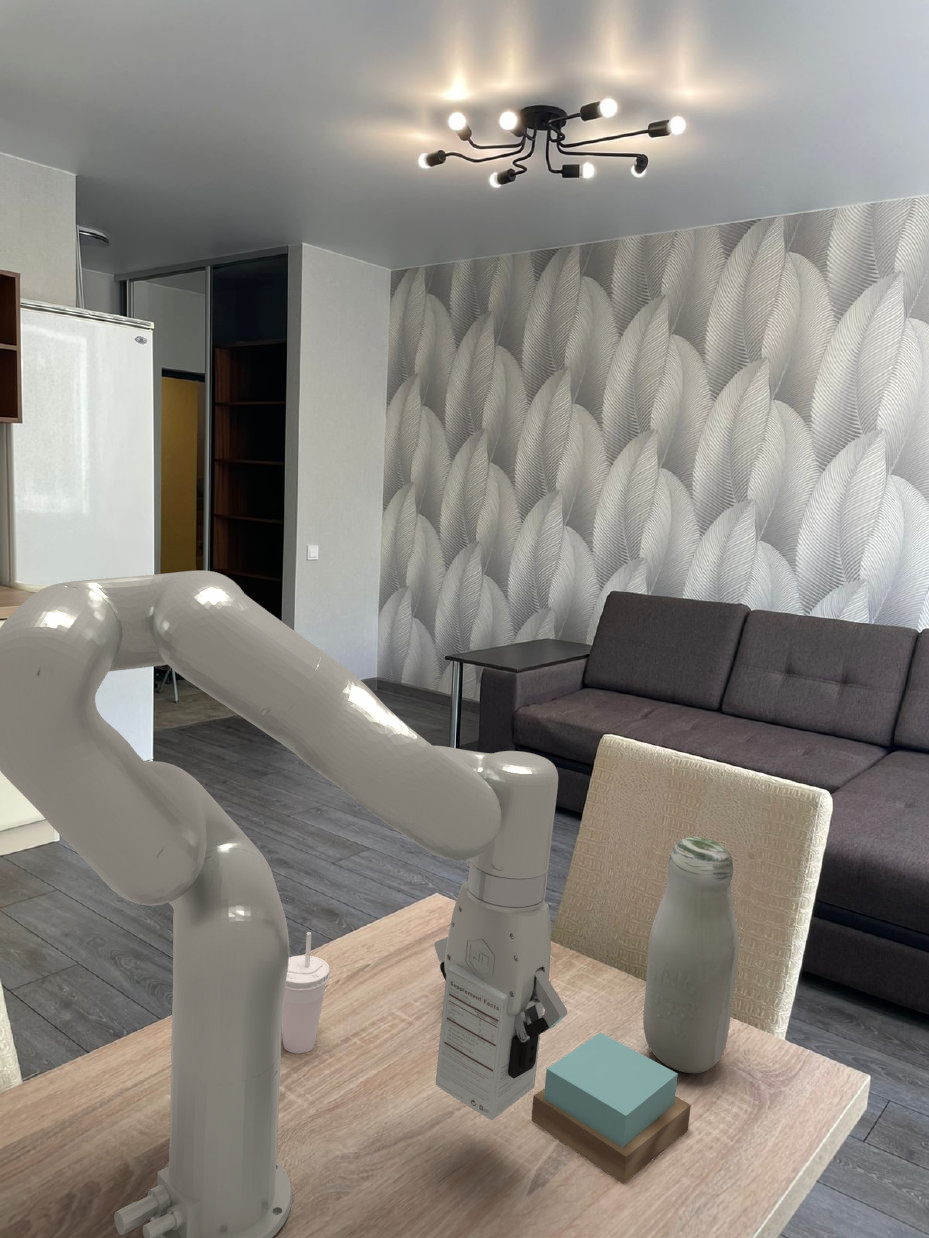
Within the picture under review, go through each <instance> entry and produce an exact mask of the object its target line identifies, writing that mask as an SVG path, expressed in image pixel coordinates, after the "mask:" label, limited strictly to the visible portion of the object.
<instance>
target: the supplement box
mask: <svg viewBox="0 0 929 1238" xmlns="http://www.w3.org/2000/svg"><path fill="white" fill-rule="evenodd" d="M444 982H445V985H444V995H443V1002H442V1003H443V1004H442V1012H441V1013H442V1014H441V1024H440V1033H439V1045H438V1054H437V1056H438V1057H437V1066H436V1077H435V1085H436V1087H437V1088H438V1089H440V1090H442V1091H444V1093H446V1094H448V1095H450V1096H452V1097H453V1098H455V1099H457V1101H460V1102H461V1103H463V1104H464V1105H465V1106H467V1107H468V1108H470V1109H472V1110H474V1111H475V1112H477V1113H478V1114H480V1115H481V1116H483V1117H485V1118H486V1119H488V1120H491V1121H494V1120H495V1119H497V1118H498V1117H499V1116H500V1115H502V1114H503V1112H505V1111H506V1110H507V1109H509V1108H510V1107H511V1106H512V1105H515V1103H516V1102H517V1101H519V1100H520V1099H522V1097H525V1095H527V1094H528V1093H529V1092H531V1091H532V1090H533V1089H534V1088H535V1084H536V1076H537V1075H536V1074H537V1068H538V1058H539V1057H538V1056H539V1051H540V1049H539V1048H540V1041H541V1034H539V1037H538V1045H537V1054H536V1062H535V1064H534V1066H533V1068H532V1069H530V1070H528V1071H527V1072H525V1073H523V1074H522V1075H520V1076H518V1077H516V1078H515V1079H513V1078H512V1077H510V1076H509V1073H508V1069H509V1060H510V1051H511V1042H512V1038H513V1037H514V1036H516V1035H517V1032H516V1029H515V1025H514V1021H515V1016H509V1015H508V1014H507V1006H508V996H507V995H505V994H504V993H502V992H500V991H499V990H497V989H495V988H494V987H492V986H490V985H489V984H487V983H485V982H484V981H482V980H481V979H480V978H478V977H477V976H474V975H472V974H471V973H469V972H467V971H466V970H464V969H463V968H461V967H459V966H457V965H455V964H454V965H452V966H450V967H448V968H447V973H446V981H444ZM539 1006H540V1010H541V1013H542V1015H543V1014H544V1007H543V1005H542V1003H541V1002H540V1003H539ZM524 1014H525V1018H526V1021H527V1024H530V1023H531V1020H530V1017H529V1014H528V1009H526V1010H525V1011H524Z"/></svg>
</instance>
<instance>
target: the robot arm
mask: <svg viewBox="0 0 929 1238" xmlns="http://www.w3.org/2000/svg"><path fill="white" fill-rule="evenodd" d="M166 665H167V666H169V668H171V669H172V670H173V672H175V673H176V674H179V676H180V677H182V678H184V679H185V681H188V682H189V683H191V684H192V685H194V686H195V687H196V688H198V689H200V690H201V691H202V692H204V693H206V694H207V695H209V696H210V697H212V698H213V699H215V700H216V701H217V702H219V703H220V704H222V705H223V706H225V707H227V708H228V709H229V710H231V711H233V712H234V713H236V714H237V715H238V716H240V717H241V718H243V719H245V720H246V721H247V722H249V723H250V724H252V725H253V726H255V727H256V728H257V729H259V730H261V731H262V732H264V733H265V734H266V735H268V736H270V737H271V738H272V739H274V740H275V741H277V743H280V744H281V745H283V747H285V748H287V749H288V750H289V751H290V752H292V753H293V754H295V755H296V756H297V757H299V759H301V760H302V761H303V762H304V763H305V764H306V765H308V766H309V767H310V768H311V769H313V770H314V771H315V772H317V773H318V774H320V775H321V776H322V777H324V778H325V779H327V780H328V781H329V782H331V783H333V784H334V786H336V787H338V788H339V789H340V790H342V791H343V793H346V795H348V796H349V797H350V798H352V799H353V800H354V801H355V802H357V804H359V805H361V806H362V807H363V808H364V809H366V810H367V811H368V812H370V813H371V814H372V815H374V816H376V818H378V819H380V820H381V821H382V822H384V823H385V824H386V825H388V826H390V827H391V828H393V829H394V830H395V831H397V832H399V833H400V834H402V835H403V836H404V837H406V838H407V839H409V840H410V841H412V842H413V843H415V844H417V845H418V846H419V847H421V848H423V849H424V850H426V851H427V852H429V853H430V854H433V855H434V856H437V857H439V858H441V859H445V860H449V861H450V860H451V861H463V860H464V863H465V864H466V866H469V870H468V880H466V881H465V882H463V883H462V884H461V887H460V890H459V892H458V894H457V898H456V900H455V903H454V906H453V907H454V908H453V911H452V915H451V919H450V924H449V928H448V934H447V936H446V937H444V938H442V939H439V940H436V941H435V942H434V945H433V946H434V950H435V952H436V955H437V958H438V962H440V964H439V968H440V972H441V975H442V976H443V979H444V982H446V973H447V968H448V967H450V966H452V965H454V964H455V965H457V966H459V967H461V968H463V969H464V970H466V971H467V972H469V973H471V974H472V975H474V976H477V977H478V978H480V979H481V980H482V981H484V982H485V983H487V984H489V985H490V986H492V987H494V988H495V989H497V990H499V991H500V992H502V993H504V994H505V995H507V996H508V1006H507V1014H508V1015H509V1016H515V1021H514V1025H515V1029H516V1032H517V1035H516V1036H514V1037H513V1038H512V1042H511V1051H510V1060H509V1069H508V1073H509V1076H510V1077H512V1078H513V1079H515V1078H516V1077H518V1076H520V1075H522V1074H523V1073H525V1072H527V1071H528V1070H530V1069H532V1068H533V1066H534V1064H535V1062H536V1054H537V1045H538V1037H539V1034H540V1035H542V1034H543V1033H545V1032H547V1031H548V1030H551V1029H552V1028H554V1027H555V1026H556V1025H557V1024H558V1023H560V1022H561V1021H562V1020H563V1019H565V1017H566V1016H567V1015H568V1010H567V1007H566V1006H565V1004H564V1002H563V1001H562V999H561V998H560V996H559V995H558V993H557V991H556V990H555V988H554V986H553V985H552V983H551V981H550V980H549V978H550V969H551V953H552V952H551V949H552V948H551V946H552V945H551V941H552V940H551V939H552V938H551V936H552V935H551V934H552V933H551V932H552V931H551V917H550V908H549V907H550V906H549V904H548V903H547V902H545V901H546V893H547V885H548V884H547V883H548V874H549V864H550V855H551V847H552V839H553V838H552V837H553V830H554V821H555V813H556V805H557V796H558V789H559V774H558V769H557V768H556V766H555V764H554V763H553V762H552V761H551V760H549V759H548V758H546V757H544V756H541V755H538V754H535V753H531V752H527V751H520V750H519V751H517V750H506V751H504V750H502V751H498V752H494V753H493V752H492V753H491V752H490V753H487V752H481V751H473V750H467V749H460V748H456V747H455V748H454V747H451V746H450V747H449V746H445V745H432V744H431V743H430V742H429V741H427V740H426V739H425V738H424V737H422V736H421V735H420V734H418V733H417V732H416V731H415V730H413V729H412V728H411V727H410V726H409V725H407V724H406V723H405V722H404V721H403V720H401V719H400V718H399V717H398V716H397V715H396V714H395V713H394V712H393V711H391V709H389V707H387V706H386V705H385V704H384V702H382V701H381V699H380V698H379V697H378V696H377V695H376V694H375V693H374V692H373V691H372V689H371V688H369V687H368V686H367V685H366V684H365V683H364V682H363V681H362V680H361V679H360V678H358V676H357V675H355V674H354V673H353V672H352V671H351V670H349V669H348V668H347V667H346V666H344V665H343V664H341V663H340V662H338V661H337V660H335V659H334V658H333V657H331V656H330V655H329V654H327V653H326V652H324V651H323V650H321V649H320V648H318V647H317V645H315V644H313V643H311V642H310V641H309V640H308V639H306V638H305V637H303V636H302V635H301V634H299V633H298V632H296V631H295V630H294V629H292V628H291V627H290V626H289V625H287V624H286V623H284V622H283V621H282V620H280V619H279V618H278V617H276V616H275V615H273V614H272V613H271V612H269V611H268V610H267V609H265V608H264V607H263V606H262V605H260V604H259V603H257V602H256V601H255V600H253V598H251V597H249V596H248V595H247V594H246V593H244V591H243V590H242V589H241V587H240V586H239V584H237V583H236V582H235V581H234V580H232V579H231V578H230V577H228V576H227V575H224V574H222V573H219V572H215V571H211V570H187V571H178V572H170V573H169V572H167V573H158V574H157V573H155V574H146V575H133V576H124V577H123V576H122V577H110V578H98V579H97V578H96V579H86V580H85V579H84V580H72V581H71V580H70V581H65V582H64V581H63V582H60V583H55V584H52V585H49V586H47V587H44V588H41V589H40V590H38V591H36V592H35V593H33V594H32V595H31V596H29V597H28V598H27V599H26V600H25V601H24V602H23V603H22V604H21V605H19V606H17V608H16V609H14V611H13V612H12V613H11V614H9V616H8V617H7V618H6V619H5V621H4V622H3V624H2V625H1V626H0V773H2V775H3V776H4V777H5V778H6V779H7V780H8V781H9V782H10V783H11V784H12V785H13V786H14V787H15V789H16V790H17V791H18V792H20V793H21V794H22V796H23V797H24V798H25V799H27V801H29V803H30V804H31V805H32V806H33V807H34V808H35V809H36V810H37V812H39V813H40V814H41V815H42V817H43V818H44V819H45V820H46V821H47V822H48V823H49V824H50V826H51V827H52V828H53V829H54V830H55V831H56V832H57V833H58V834H59V835H60V837H62V839H63V840H64V841H66V843H67V844H68V845H69V846H70V847H71V848H72V849H73V850H74V851H75V852H76V853H77V855H79V857H81V858H82V859H83V860H84V862H85V863H86V864H87V865H88V866H89V867H90V868H91V869H92V870H93V871H94V872H95V873H96V875H98V877H99V878H100V879H101V880H103V882H104V884H106V885H107V886H108V887H109V889H111V890H112V891H113V892H115V894H118V896H120V897H122V898H123V899H125V900H127V901H130V902H132V903H135V904H136V905H137V904H138V905H144V906H150V907H151V906H160V905H165V904H169V905H170V906H171V907H172V909H173V917H172V919H173V920H172V922H173V923H172V928H173V931H172V933H173V946H172V947H173V949H172V952H173V953H172V954H173V955H172V982H173V983H172V1010H171V1011H172V1012H171V1039H170V1040H171V1043H170V1045H171V1050H170V1051H171V1052H170V1059H171V1060H170V1061H171V1064H170V1065H171V1069H170V1070H171V1071H170V1101H169V1103H170V1108H169V1109H170V1111H169V1112H170V1113H169V1143H168V1144H169V1146H168V1147H169V1151H168V1152H169V1153H168V1166H167V1167H164V1168H162V1169H160V1170H158V1171H157V1179H156V1180H157V1181H156V1182H157V1185H156V1186H155V1187H152V1188H151V1189H149V1190H148V1191H147V1196H146V1197H144V1198H142V1199H140V1200H138V1201H133V1202H131V1203H130V1204H127V1205H126V1206H124V1207H122V1208H120V1209H118V1210H116V1211H115V1213H114V1215H113V1216H114V1217H113V1218H114V1226H115V1228H116V1231H117V1232H118V1234H119V1235H121V1236H124V1235H125V1234H127V1233H130V1232H131V1231H133V1230H135V1229H137V1228H138V1227H140V1226H142V1225H143V1224H144V1222H147V1221H149V1222H147V1223H146V1224H144V1225H143V1226H142V1233H143V1238H273V1237H275V1236H276V1235H277V1233H278V1232H279V1231H280V1230H281V1228H282V1227H283V1226H284V1224H285V1223H286V1220H288V1217H289V1215H290V1210H291V1207H292V1199H293V1198H292V1197H293V1189H292V1181H291V1179H290V1177H289V1175H288V1173H287V1171H286V1170H285V1169H284V1167H283V1166H282V1165H281V1164H280V1163H279V1162H278V1161H277V1153H278V1130H279V1129H278V1128H279V1127H278V1126H279V1124H278V1123H279V1107H280V1106H279V1104H280V1085H281V1083H280V1080H281V1061H282V1059H281V1058H282V1055H281V1054H282V1046H281V1045H282V1012H283V1000H284V992H285V985H286V978H287V971H288V963H289V958H290V938H289V928H288V923H287V919H286V914H285V911H284V910H285V909H284V907H283V904H282V899H281V896H280V894H279V892H278V887H277V885H276V884H277V883H276V880H275V877H274V874H273V871H272V869H271V867H270V864H269V863H268V861H267V860H266V857H265V856H264V855H263V854H262V852H261V851H260V849H258V847H257V846H256V845H255V844H254V842H253V841H252V840H251V839H250V838H249V836H247V835H246V834H245V833H244V831H243V830H242V829H241V828H240V826H238V824H236V822H235V821H234V820H233V819H232V818H231V817H230V815H229V814H228V813H227V812H226V811H225V810H224V809H223V808H222V807H221V805H220V804H219V803H218V802H217V801H216V799H214V798H213V796H212V795H211V794H210V793H209V792H208V791H207V790H206V788H204V786H203V785H202V784H201V783H200V782H199V781H198V780H197V779H195V778H194V776H192V775H191V774H190V773H188V772H187V771H186V770H185V769H182V768H181V767H178V766H177V765H175V764H172V763H169V762H165V761H158V760H153V761H152V760H151V761H147V760H146V761H145V760H144V759H143V758H142V757H141V756H140V755H139V754H138V753H137V752H136V750H135V749H134V748H133V747H132V745H131V744H130V742H128V740H127V739H125V737H124V736H123V735H122V734H121V733H120V731H117V730H116V728H115V727H114V726H113V725H111V724H110V723H108V722H107V721H106V720H105V719H104V718H103V717H102V715H101V713H100V712H99V711H98V707H97V703H96V696H97V692H98V690H99V689H100V686H101V684H102V683H103V681H104V680H105V679H106V676H107V675H108V673H109V672H115V671H116V672H117V671H126V670H134V669H143V668H153V667H161V666H166ZM540 1002H541V1003H542V1005H543V1010H544V1012H543V1015H542V1013H541V1010H540V1006H539V1003H540ZM526 1009H528V1014H529V1017H530V1020H531V1023H530V1024H527V1021H526V1018H525V1014H524V1011H525V1010H526Z"/></svg>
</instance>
